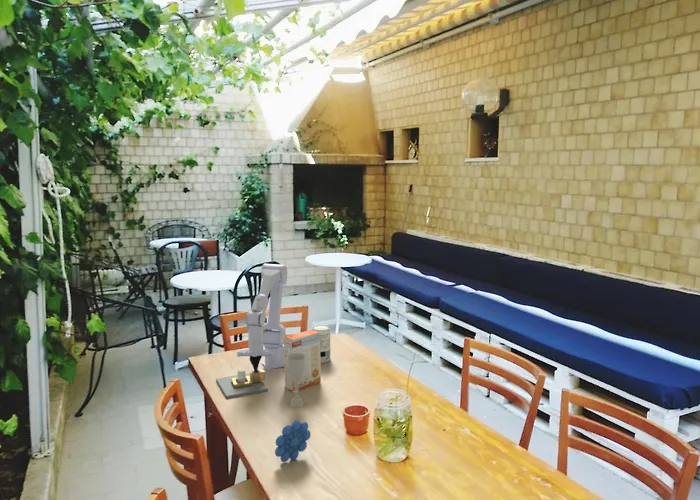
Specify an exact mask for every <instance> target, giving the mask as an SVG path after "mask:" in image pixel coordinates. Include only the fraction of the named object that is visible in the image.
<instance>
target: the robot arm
mask: <svg viewBox="0 0 700 500" xmlns="http://www.w3.org/2000/svg"><path fill="white" fill-rule="evenodd" d="M260 274H261V279H262V280H261V281H262V282H261V286H260V290H259V293H258V294H257V295H256V296H255V297H254V300H253V302H252V305H251V309H250V310H249V311H248V312H246V315H245V320H244V322H245V326H246V330H247V332H248V333H247V334H248V335H247V337H248V349H244V350H238V349H237V352H236V354H237V355H236V356H237V358H239V357H249V361H250V363H251V365H252V368H253V371H257V370H259V364H260V362H261V359H262V357H264V361H262V362H261V364H262V365H263V367H265V369H266V370H272V369H273V370H274V369H277V368H284V337H285V336H287V335H286V327H285V326H284V325H283V324H281V312H282V311H281V309H282V308H281V307H282V298H283V288H284V285H287V281H288V268H287V266H286V264H277V263H275V264H273V263H263V264H262V266H261V270H260ZM269 294H270V297H269ZM268 297H269V298H268ZM268 305H269V310H268V320H267V323H266V316H267V313H266V312H267V308H268ZM265 323H266V324H265Z"/></svg>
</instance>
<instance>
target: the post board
mask: <svg viewBox="0 0 700 500" xmlns="http://www.w3.org/2000/svg"><path fill="white" fill-rule="evenodd" d="M245 376H249V377H250V372H249V373H246V370H245V369H239V370H237V375H230V376H225V377H224V376H223V377H217V378H215V380H216V383H217V385H218V387H219V388H220V389H221V392H222V394H223V396H225V398H226V399H232V398H237V397H242V396H243V397H244V396H249V395H253V394H259V393H265V392H269V388H268V386H267V385H266V384H265V383H264V381H263V373H262V372H260V373H259V377H260V382H253V383H252V385H248V386H241V387H234V386H233V384H232V381H231V378H237V377H238V381H236V382H237V383H243V382H247V380H246V377H245Z"/></svg>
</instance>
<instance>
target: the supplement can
mask: <svg viewBox="0 0 700 500" xmlns="http://www.w3.org/2000/svg"><path fill="white" fill-rule="evenodd" d="M312 330H314V331H317V332H320V360H321V364H326V363H328V362H329V361H330V360H331V329H330V327H329V326H327V325H316V326H314V327H313V328H312Z"/></svg>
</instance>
